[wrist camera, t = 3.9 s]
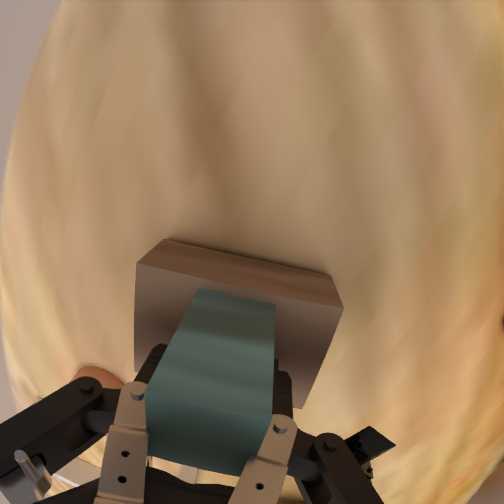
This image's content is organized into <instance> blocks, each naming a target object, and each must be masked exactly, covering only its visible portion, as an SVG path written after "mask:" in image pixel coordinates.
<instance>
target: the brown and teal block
mask: <svg viewBox="0 0 504 504" xmlns="http://www.w3.org/2000/svg"><path fill="white" fill-rule="evenodd" d="M343 309H344V308H343V305H342V302H341V300H340V297H339V294H338V292H337V289H336V287H335V284H334V282H333V279H332V277H331V276H330V275H326V274H321V273H317V272H312V271H307V270H303V269H298V268H293V267H289V266H284V265H280V264H275V263H270V262H266V261H261V260H257V259H252V258H247V257H243V256H238V255H234V254H229V253H225V252H220V251H216V250H211V249H207V248H202V247H197V246H193V245H188V244H184V243H179V242H175V241H170V240H166V239H163V240H162V241H161V242H160V243H159V244H158V245H156V246H155V247H154V248H153V249H152V250H151V251H149V252H148V253H147V254H146V255H145V256H144V257H142V258H141V259H140V260H139V261H138V262H137V264H136V282H135V309H134V367H135V371H136V372H139V371H140V369H141V367H142V365H143V364H144V362H145V360H146V359H147V357H148V356H149V353H150V352H151V350H152V348H153V347H155V346H157V345H158V344H160V343H162V344H166V345H168V344H169V345H168V347H167V349H166V351H165V352H164V354H163V356H162V358H161V360H160V362H159V364H158V366H157V368H156V370H155V372H154V374H153V376H152V378H151V380H150V382H149V383H148V385H147V387H146V389H145V415H146V428H150V434H151V438H150V449H151V456H154V457H157V458H161V459H164V460H168V461H171V462H175V463H179V464H182V465H186V466H190V467H194V468H199V469H203V470H207V471H212V472H217V473H222V474H227V475H233V476H239V477H240V476H241V474H242V472H243V470H244V467H245V465H246V463H247V461H248V458H249V456H250V454H251V453H257V454H258V452H259V449H260V447H261V445H262V442H263V440H264V438H265V435H266V433H267V431H268V428H269V426H270V423H271V421H272V399H273V372H274V359H278V361H279V367H278V370H280V371H286V372H288V374H289V376H290V377H291V379H292V403H293V408H298V409H302V408H303V406H304V404H305V401H306V399H307V397H308V395H309V393H310V390H311V388H312V386H313V384H314V381H315V379H316V377H317V375H318V372H319V370H320V367H321V365H322V363H323V360H324V358H325V356H326V353H327V351H328V348H329V346H330V343H331V341H332V338H333V336H334V333H335V330H336V328H337V325H338V323H339V320H340V317H341V315H342V312H343ZM171 338H172V339H171ZM170 340H171V341H170ZM169 342H170V343H169Z"/></svg>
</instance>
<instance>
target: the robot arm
mask: <svg viewBox="0 0 504 504" xmlns="http://www.w3.org/2000/svg"><path fill="white" fill-rule="evenodd" d="M171 339H172V338H171ZM170 341H171V340H170ZM169 343H170V342H169ZM168 345H169V344H168ZM168 345H166V344H162V343H160V344H158V345H157V346H155V347H153V348H152V350H151V352H150V353H149V356H148V357H147V359H146V360H145V362H144V364H143V365H142V367H141V369H140V371H139V372H138V374H137V376H136V378H135V379H134V381H133V382H129V383H127V384H125V385H124V386H123V387H122V388H121V389H111V388H102V384H101V383H100V382H99V381H98V380H97V379H95V378H93V377H89V376H83V377H79V378H77V379H75V380H74V381H72V382H70V383H69V384H67V385H65V386H64V387H62V388H60V389H59V390H57V391H55V392H54V393H52V394H50V395H49V396H47V397H45V398H43V399H42V400H40V401H38V402H37V403H35V404H33V405H32V406H30V407H28V408H27V409H25V410H23V411H22V412H20V413H18V414H16V415H15V416H13V417H11V418H10V419H8V420H6V421H5V422H3V423H1V424H0V491H1V492H2V493H3V494H4V496H5V497H6V498H7V500H8V501H9V502H10V503H11V504H277V501H278V498H279V495H280V492H281V489H282V486H283V483H284V480H285V477H286V474H287V475H289V476H292V477H294V479H295V481H296V484H297V486H298V488H299V490H300V492H301V494H302V496H303V498H304V500H305V502H306V504H384V503H383V501H382V499H381V498H380V496H379V495H378V493H377V492H376V490H375V489H374V487H373V485H372V484H371V482H370V481H369V479H368V478H367V476H366V475H365V473H364V471H363V470H362V468H361V467H360V465H359V463H358V462H357V460H356V459H355V457H354V456H353V454H352V452H351V451H350V449H349V448H348V446H347V444H346V443H345V441H344V440H343V439H342V438H341V437H340V436H338V435H336V434H333V433H322V434H320V435H318V436H317V437H315V436H312V435H310V434H307V433H305V432H303V431H301V430H300V429H299V428H298V427H297V425H296V423H295V422H294V421H293V403H292V379H291V377H290V376H289V374H288V372H286V371H280V370H278V367H279V361H278V359H274V372H273V399H272V421H271V423H270V426H269V428H268V431H267V433H266V435H265V438H264V440H263V442H262V445H261V447H260V449H259V452H258V454H257V453H251V454H250V456H249V458H248V461H247V463H246V465H245V467H244V470H243V472H242V474H241V476H240V478H239V481H238V483H237V485H236V487H231V486H226V485H220V484H191V483H187V482H185V481H183V480H181V479H179V478H177V477H175V476H173V475H171V474H169V473H167V472H165V471H162V470H159V469H156V468H153V467H152V458H153V456H151V449H150V438H151V434H150V428H146V415H145V389H146V387H147V385H148V383H149V382H150V380H151V378H152V376H153V374H154V372H155V370H156V368H157V366H158V364H159V362H160V360H161V358H162V356H163V354H164V352H165V351H166V349H167V347H168ZM107 433H108V436H107V441H106V446H105V452H104V457H103V462H102V468H101V474H100V477H99V478H97V479H94V480H92V481H90V482H87V483H85V484H82V485H80V486H77V487H75V488H73V489H70V490H67V491H65V492H62V493H59V494H57V495H54V496H51V497H48V498H46V499H44V495H45V493H46V492H47V491H48V490H49V489H50V487H51V485H52V479H51V476H52V475H53V474H54V473H56V472H57V471H58V470H60V469H61V468H63V467H64V466H65V465H67V464H68V463H69V462H71V461H72V460H73V459H75V458H76V457H77V456H79V455H80V454H81V453H83V452H84V451H85V450H87V449H88V448H89V447H91V446H92V445H93V444H94V443H96V442H97V441H98V440H100V439H101V438H102V437H104V436H105V435H106V434H107Z"/></svg>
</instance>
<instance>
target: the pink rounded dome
mask: <svg viewBox="0 0 504 504" xmlns="http://www.w3.org/2000/svg"><path fill="white" fill-rule="evenodd" d="M83 376H89V377H93V378H95V379H97V380H98V381H99V382H100V383H101V384H102V388H111V389H121V388H122V387H123V386H124V385H125V384H124V383H123V382H122V381H121V380H119V379H118V378H117V377H116V376H114V375H113V374H111V373H109V372H108V371H106V370H103V369H101V368H98V367H92V366H87V367H83V368H82V369H80V370H79V371H78V373H77V374H76V375H75V376H74V378H73V379H72V380H71V381H70V382H72V381H74V380H75V379H77V378H79V377H83ZM105 436H108V433H107V434H106V435H105Z"/></svg>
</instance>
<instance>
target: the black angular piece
mask: <svg viewBox="0 0 504 504" xmlns="http://www.w3.org/2000/svg"><path fill="white" fill-rule="evenodd" d="M344 441H345V443H346V444H347V446H348V448H349V449H350V451H351V452H352V454H353V456H354V457H355V459H356V460H357V462H358V463H359V465H360V467H361V468H362V470H363V471H364V473H365V475H366V476H367V478H368V479H369V481H370V482H371V479H372V478H373V473H372V471H373V469H372V468H371V464H370V460H372V459H374V458H376V457H378V456H379V455H381V454H383V453H385V452H386V451H388V450H390V449H391V448H393V447H395V446H396V445H395V444H394V443H392V442H391V441H390V440H388V439H387V438H386V437H384V436H383V435H382V434H380V433H379V432H378V431H376V430H375V429H374V428H372V427H371V426H368V427H366V428H365V429H363V430H361V431H359V432H358V433H356V434H354V435H353V436H351V437H349V438H347V439H345V440H344ZM371 484H372V482H371Z"/></svg>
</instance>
